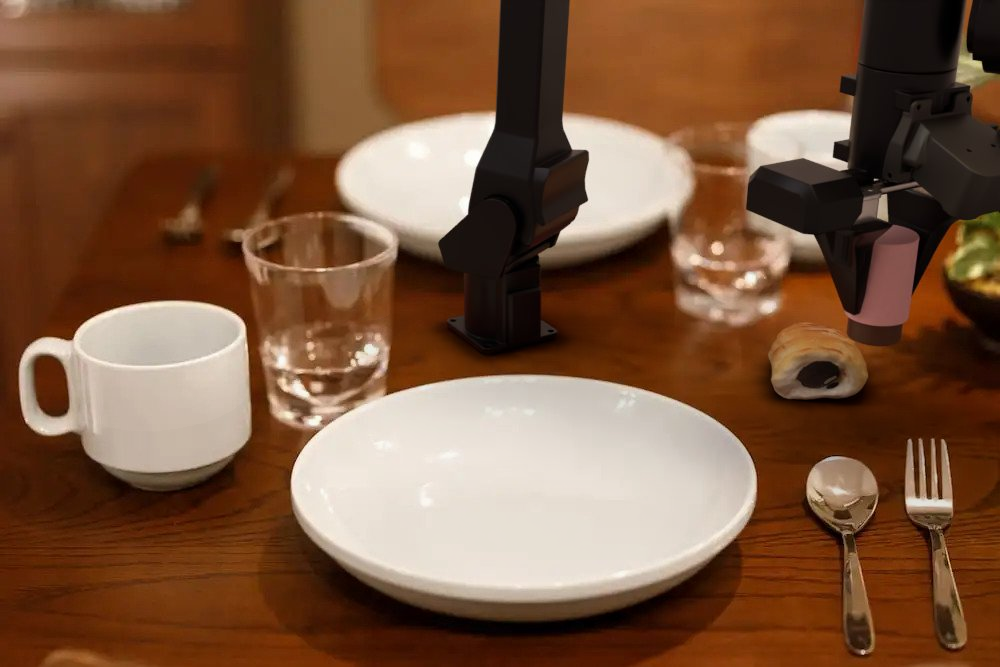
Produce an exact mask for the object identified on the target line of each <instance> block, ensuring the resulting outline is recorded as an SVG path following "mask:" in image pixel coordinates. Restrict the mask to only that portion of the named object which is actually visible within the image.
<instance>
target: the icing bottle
mask: <svg viewBox="0 0 1000 667" xmlns="http://www.w3.org/2000/svg"><path fill="white" fill-rule="evenodd" d="M918 244H919V235H918V234H917V233H916V232H915V231H913V230H911V229H908V228H905V227H902V226H897V225H893V226H892V227H891V228H890V229H889V230H888V231H887V232H885V233H884V234H883V235H882V236H881V237H880V238H878V239H877V240H876V241H875V243H874V246H873V252H872V258H871V264H870V270H869V276H868V282H867V287H866V293H865V297H864V301H863V304H862V308H861V311H860V313H859V314H858V315H852V314H850V313H848V312H846V311H845V310H844V309H843V311H844V314H845V315H846V317H847V324H846V325H847V326H846V335H847V338H848V339H850V340H853V341H854V342H855V343H859V344H861V345H866V346H872V347H887V346H893V345H896V344H898V343H899V342H900V341H901V339H902V332H903V324H904V323H906V322H907V321H908V319H909V316H910V310H911V302H912V297H913V295H912V288H913V281H914V274H915V266H916V259H917V252H918ZM911 296H912V297H911Z"/></svg>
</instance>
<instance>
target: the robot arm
mask: <svg viewBox="0 0 1000 667" xmlns="http://www.w3.org/2000/svg"><path fill="white" fill-rule="evenodd" d="M570 3H571V0H499V14H498V15H499V16H498V17H499V18H498V42H497V45H498V46H497V66H496V68H497V69H496V70H497V71H496V89H495V90H496V93H495V116H494V119H495V120H494V125H493V130H492V132H491V135H490V137H489V138H488V141H487V142H486V146H485V147H484V150H483V151H482V154H481V156H480V158H479V161H478V162H477V165H476V167H475V170H474V175H473V181H472V185H471V191H470V196H469V200H468V206H467V214H466V215H465V216H464V217H463V218H462V219H461V220H460V221H459V222H458V223H457V224H456V225H454V227H452V228H451V229H450V230H449V231H448V232H447V233H446V234H444V235H443V236H442V237H441V238H440V239H439V240H438V242H437V244H438V245H437V246H438V248H439V251H440V252H439V253H440V255H441V258H442V261H443V264H444V267H445V268H446V269H447V270H450V271H455V272H459V273H463V315H460V316H455V317H450V318H447V319H446V327H447V328H449V329H450V330H451V331H453V332H454V333H455V334H457V335H458V336H460V337H461V339H464V340H465V341H466V342H467V343H468V344H470V345H471V346H473V347H474V348H475V349H476V350H478V351H479V352H481V353H483V354H486V355H489V354H494V353H495V354H496V353H499V352H503V351H507V350H511V349H515V348H519V347H523V346H527V345H532V344H536V343H540V342H544V341H548V340H553V339H556V338H558V330H557V329H556V328H554V327H553V326H551V325H550V324H548V323H546V321H543V320H542V287H541V286H542V285H541V282H542V281H541V280H542V276H541V275H542V265H541V264H540V255H539V254H541V253H543V252H545V251H547V250H548V249H552V248H553V247H555V246H556V245H557V242H558V240H559V237H560V234H561V232H562V231H563V230H565V229H566V228H567V227H569V226H570V225H571V224H572V223H573V222H574V221H575V220H576V218H577V216H578V214H579V211H580V206H582V205H584V204H586V203H587V202H589V197H588V193H587V190H586V176H587V175H586V174H587V170H588V167H589V163H590V152H589V150H587V149H573V148H572V145H571V143H570V141H569V139H568V136H567V134H566V131H565V129H564V120H563V117H564V101H565V100H564V99H565V84H566V70H567V68H566V66H567V51H568V36H569V18H570ZM967 3H968V0H864V1H863V10H862V18H861V27H860V28H861V29H860V36H859V37H860V38H859V47H858V55H857V62H856V73H851V74H845V75H844V74H843V75H841V76H840V83H839V93H841V94H844V95H848V96H851V97H853V98H852V99H853V100H852V108H851V115H850V116H851V118H850V126H849V134H848V139H842V140H836V141H833V149H832V158H833V159H836V160H839V161H841V162H845V163H846V164H847V165H846V166H847V167H846V169H841V170H838V169H835V168H833V167H830V166H827V165H824V164H822V163H818V162H816V161H813V160H810V159H807V158H804V157H801V158H796V159H790V160H785V161H779V162H775V163H774V162H773V163H769V164H763V165H760V166H759V167H757V169H756V170H754V172H752V173H751V175H750V176H748V177H749V178H748V182H747V190H746V202H745V203H746V204H745V210H746V211H747V212H751V213H753V214H755V215H758V216H759V217H762V218H765V219H766V220H770V221H771V222H774V223H776V224H778V225H781V226H783V227H786V228H788V229H790V230H793V231H795V232H798V233H800V234H802V235H809V236H814V239H815V240H816V242H817V245H818V246H819V249H820V251H821V254H822V256H823V259H824V261H825V264H826V266H827V269H828V272H829V274H830V277H831V280H832V282H833V286H834V287H835V290H836V293H837V295H838V298H839V301H840V303H841V306H842V309H843V311H844V310H845V311H846V312H848V313H850V314H852V315H858V314H859V313H860V311H861V308H862V304H863V301H864V297H865V293H866V287H867V282H868V276H869V270H870V264H871V258H872V252H873V246H874V243H875V241H876V240H877V239H878V238H880V237H881V236H882V235H883V234H884V233H885V232H887V231H888V230H889V229H890V228H891V227H892V226H893V225H897V226H902V227H905V228H908V229H911V230H913V231H915V232H916V233H917V234H918V235H919V244H918V252H917V259H916V266H915V274H914V281H913V288H912V296H911V298H912V297H913V296H914V293H915V292H916V290H917V288H918V286H919V283H920V282H921V280H922V278H923V276H924V274H925V272H926V271H927V269H928V267H929V265H930V263H931V261H932V259H933V257H934V255H935V253H936V251H937V250H938V247H939V246H940V244H941V242H942V241H943V239H944V238H945V236H946V234H947V232H949V229H950V228H951V227H952V226H953V225H954V224H955V223H956V222H958V221H959V220H961V221H966V222H967V221H974V220H977V219H978V218H980V217H981V216H985V215H988V214H989V215H990V214H993V213H997V212H998V213H999V214H1000V128H999V126H1000V125H999V124H998V123H996V122H989V123H983V122H980V121H979V120H977V119H976V118H974V117H973V112H972V107H973V99H974V95H973V93H972V92H971V85H970V84H966V83H963V82H959V81H957V73H958V66H959V61H960V60H959V59H960V53H961V45H962V40H963V39H962V38H963V31H964V24H965V17H966V10H967ZM966 28H967V29H966V38H965V39H966V50H967V52H968V54H971V58H972V61H976V62H981V67H982V71H983V72H984V73H985V74H992V75H1000V0H972V1H971V7H970V11H969V15H968V20H967V27H966ZM883 195H886V208H887V210H886V211H887V221H886V220H884V219H882V218H879V217H878V211H879V204H880V199H881V198H882V196H883Z"/></svg>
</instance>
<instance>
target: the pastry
mask: <svg viewBox="0 0 1000 667" xmlns="http://www.w3.org/2000/svg"><path fill="white" fill-rule="evenodd" d="M860 349H861V348H859V346H857V344H856V341H854V340H852V339H850V338H849V337H847V336H846V335H845V334H844V333H843V332H842V331H841V330H839V329H837V328H833V327H831V326H823V325H820V324H815V323H814V322H810V321H800V322H796V323H794V324H792V325H790V326H789V327H784V328H783V329H782V330H781V331H780V332H779V333H778V334H777V336H776V338H775V340H774V341H773V342H772V344H771V347H770V349H769V351H768V354H767V355H768V360H769V362H770V365H771V378H770V382H771V384H772V386H773V389H774V391H775V392H776V393H777V395H779V396H781V397H782V398H784V399H787V400H793V399H794V400H802V401H803V400H804V401H806V400H816V399H821V398H822V399H823V398H829V399H835V400H837V399H838V400H839V399H846V398H849V397H853V396H855V395H857V394H858V393H859V392H860V391H861V390H862V389H863V388H864V386H865V384H866V383H867V381H868V379H869V372H868V367H867V361H866V360H865V358H864V356H863V354H862V352H861V350H860Z"/></svg>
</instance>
